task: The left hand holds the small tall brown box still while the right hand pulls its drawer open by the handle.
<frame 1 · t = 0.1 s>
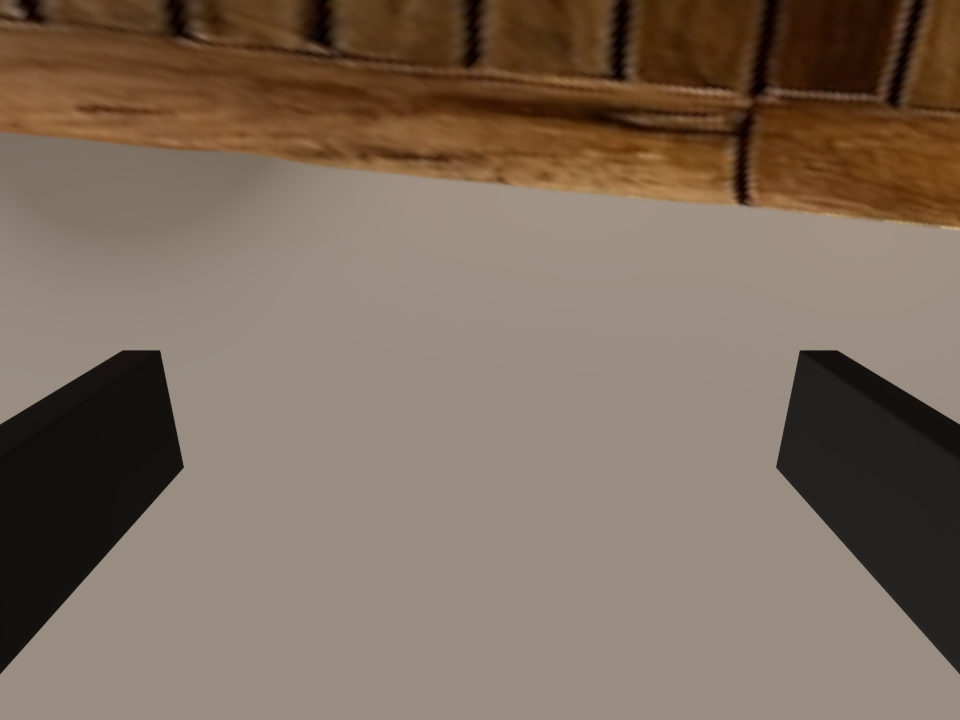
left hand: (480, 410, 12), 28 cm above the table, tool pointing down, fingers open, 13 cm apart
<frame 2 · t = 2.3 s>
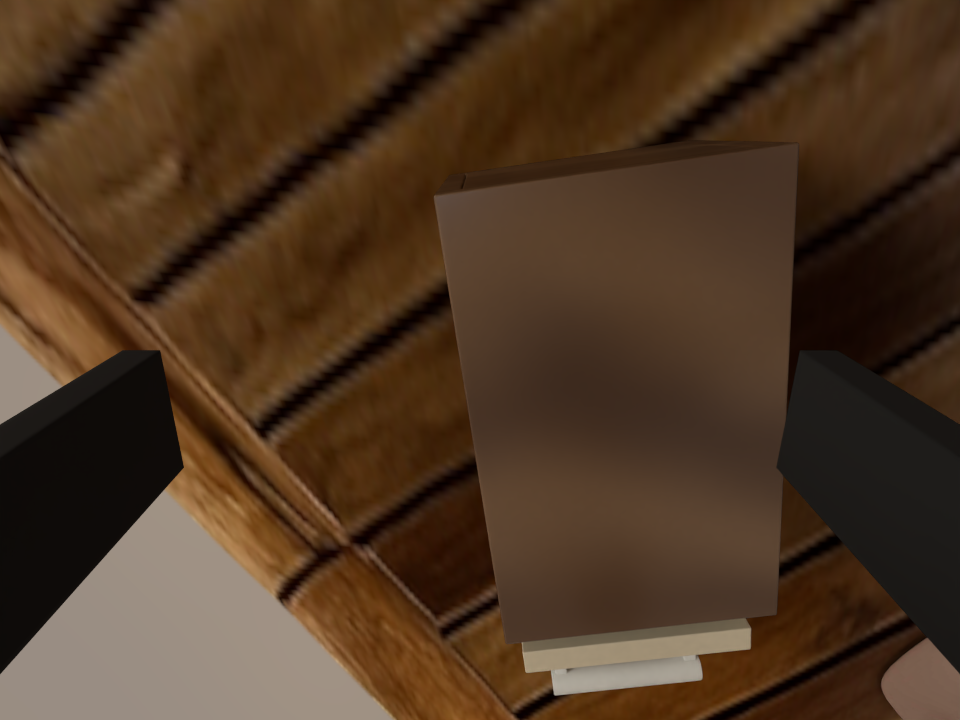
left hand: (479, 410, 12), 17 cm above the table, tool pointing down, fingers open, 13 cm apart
drawer: (610, 496, 28), point 5 cm above the table, slide at 1.5 cm
tall brown box: (583, 343, 30), on the table
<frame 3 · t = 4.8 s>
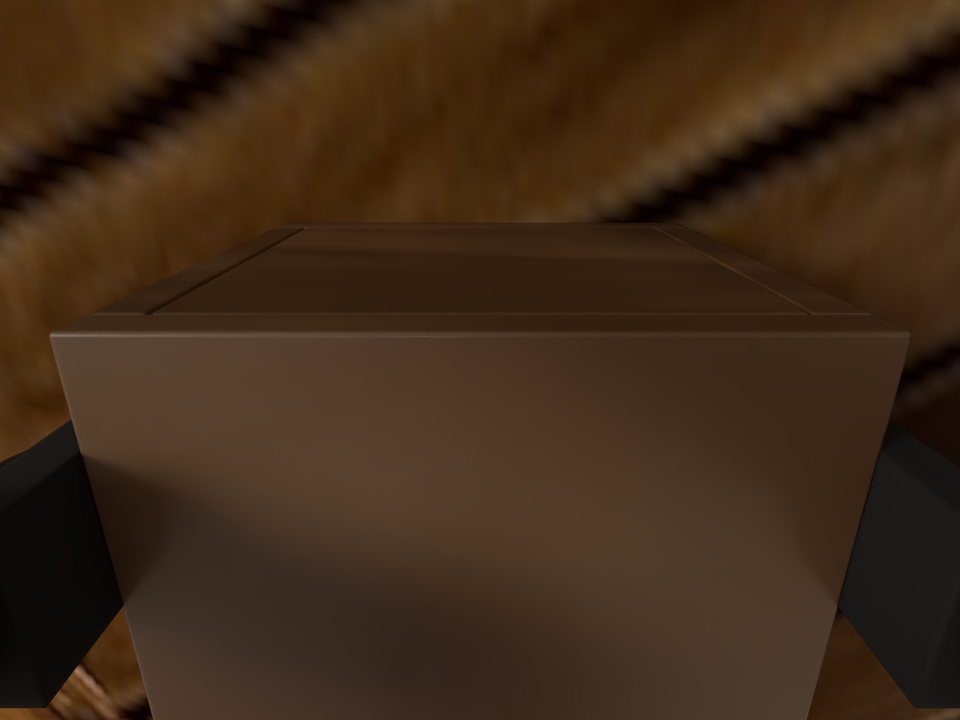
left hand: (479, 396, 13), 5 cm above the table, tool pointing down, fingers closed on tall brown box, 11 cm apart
tall brown box: (479, 496, 20), on the table, touching left hand
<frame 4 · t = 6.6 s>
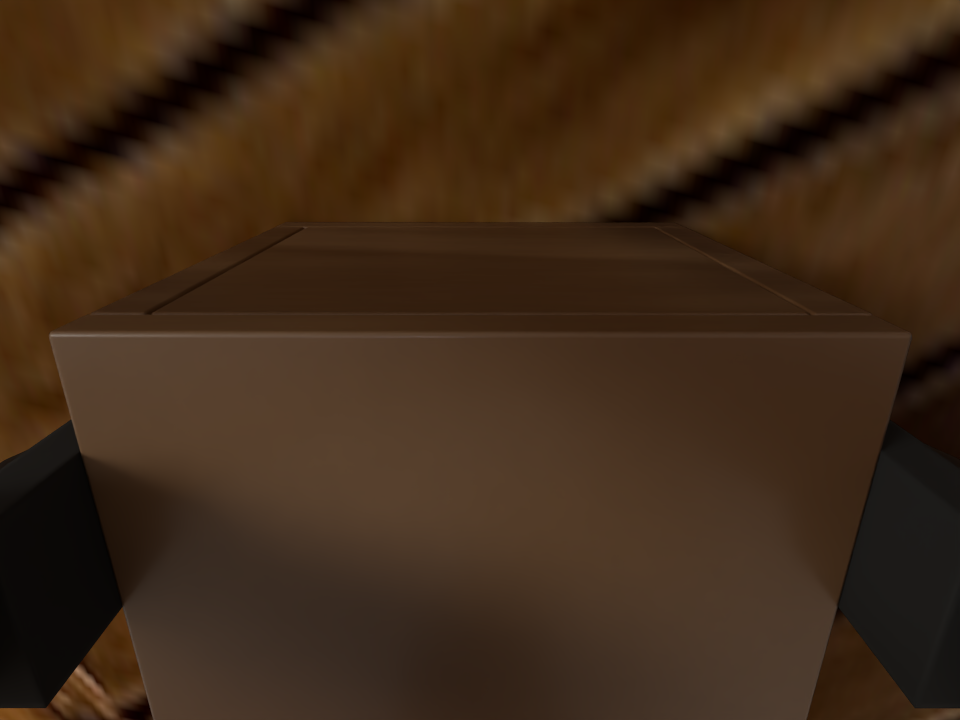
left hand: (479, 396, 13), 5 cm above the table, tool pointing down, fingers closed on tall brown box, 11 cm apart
tall brown box: (479, 496, 20), on the table, touching left hand
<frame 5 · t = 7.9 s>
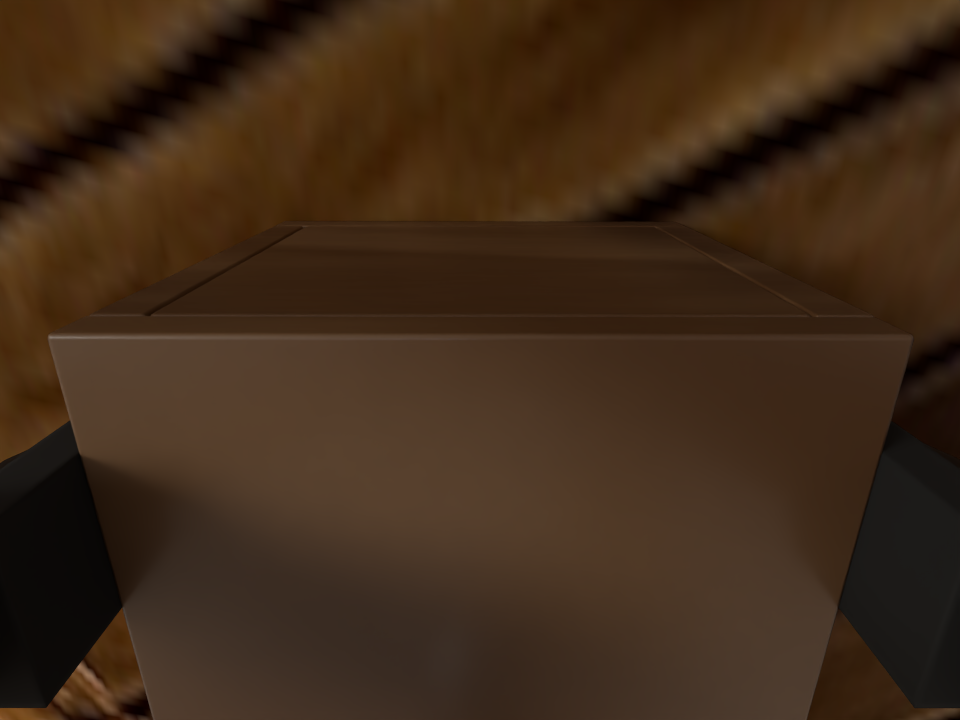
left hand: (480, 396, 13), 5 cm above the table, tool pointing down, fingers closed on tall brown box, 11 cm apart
tall brown box: (479, 495, 20), on the table, touching left hand
when the left hand's fingers open (5 cm above the table, at t = 9.5 s): tall brown box stays where it is, on the table.
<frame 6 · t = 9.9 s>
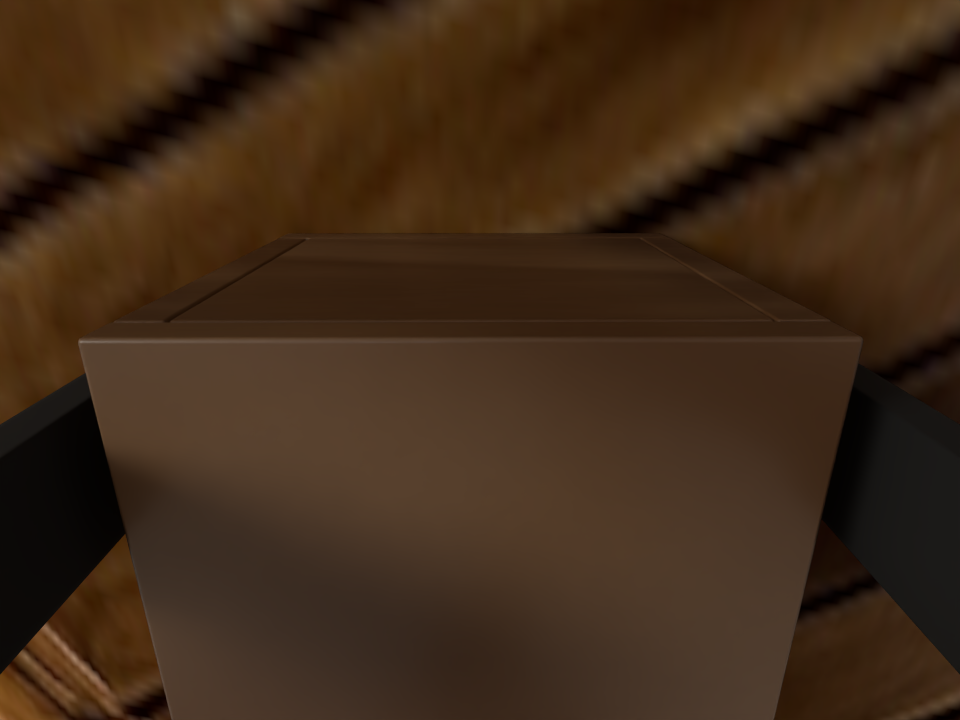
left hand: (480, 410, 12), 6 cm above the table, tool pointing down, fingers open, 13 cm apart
tall brown box: (475, 496, 21), on the table
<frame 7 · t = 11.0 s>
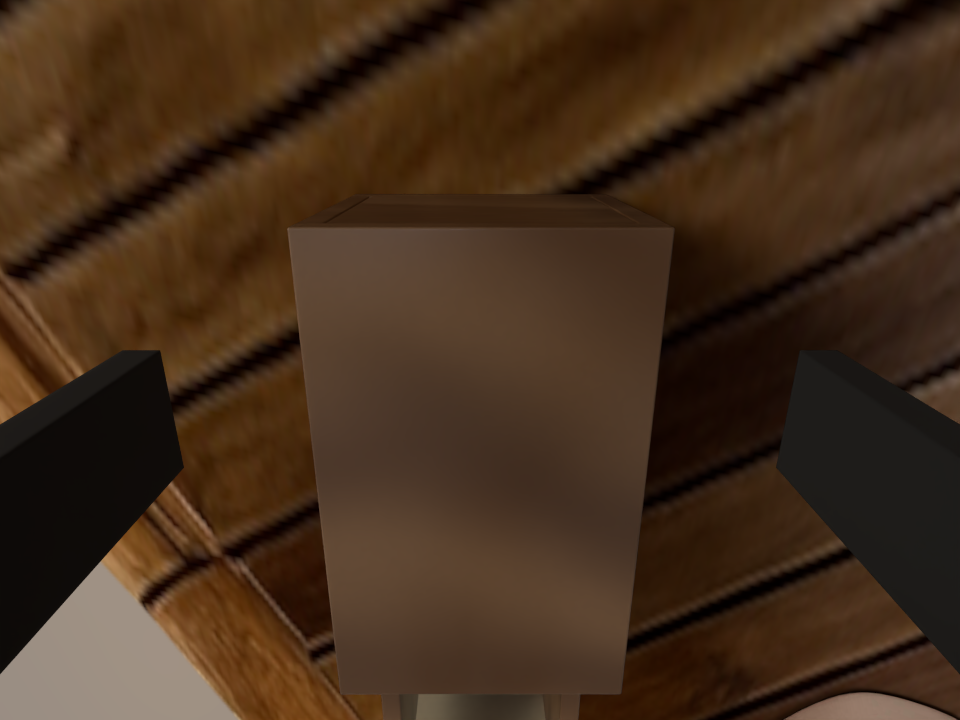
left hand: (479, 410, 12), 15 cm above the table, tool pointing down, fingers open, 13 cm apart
drawer: (480, 677, 29), point 5 cm above the table, slide at 9.3 cm
tall brown box: (480, 384, 29), on the table
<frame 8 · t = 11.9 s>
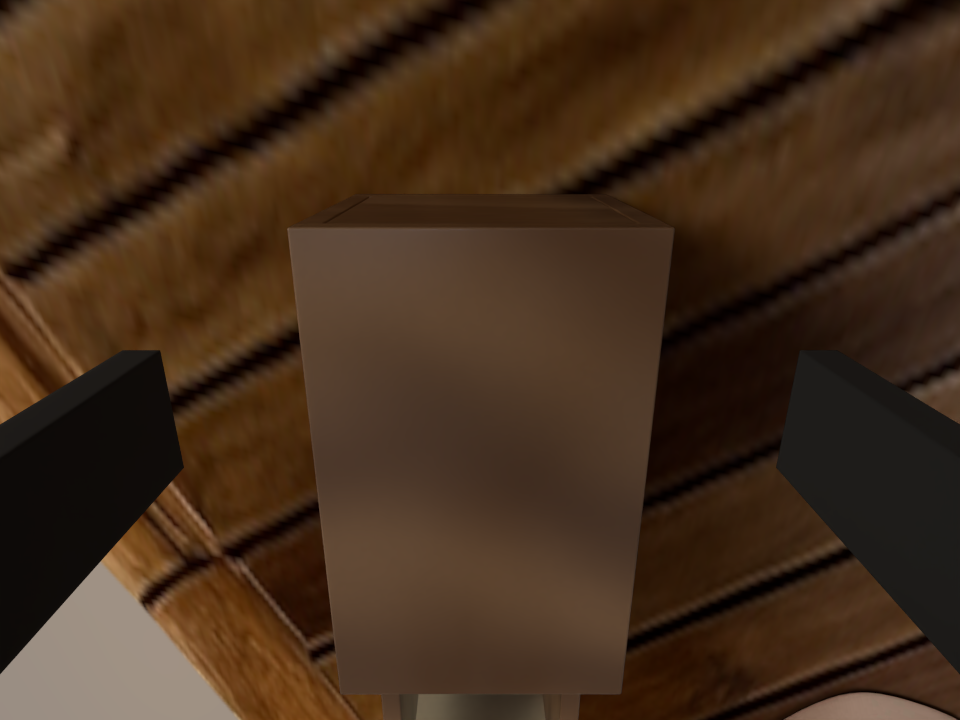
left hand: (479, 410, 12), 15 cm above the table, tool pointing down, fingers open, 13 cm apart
drawer: (480, 676, 29), point 5 cm above the table, slide at 9.3 cm
tall brown box: (480, 383, 29), on the table
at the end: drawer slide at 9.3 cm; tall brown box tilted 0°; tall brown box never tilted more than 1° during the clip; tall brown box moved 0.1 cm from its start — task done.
